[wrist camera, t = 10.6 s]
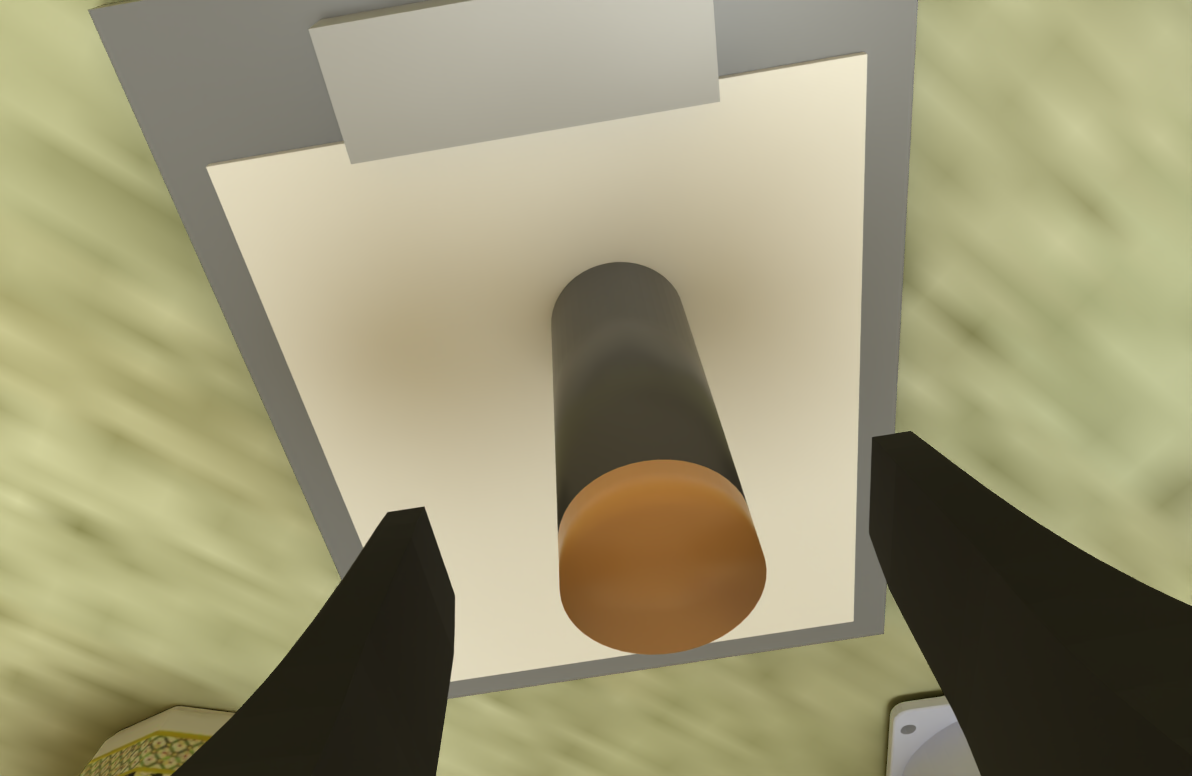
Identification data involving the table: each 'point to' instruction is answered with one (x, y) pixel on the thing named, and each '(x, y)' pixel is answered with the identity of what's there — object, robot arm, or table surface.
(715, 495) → the marker
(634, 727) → the table surface
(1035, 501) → the table surface
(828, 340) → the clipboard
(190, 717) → the ceramic cup
